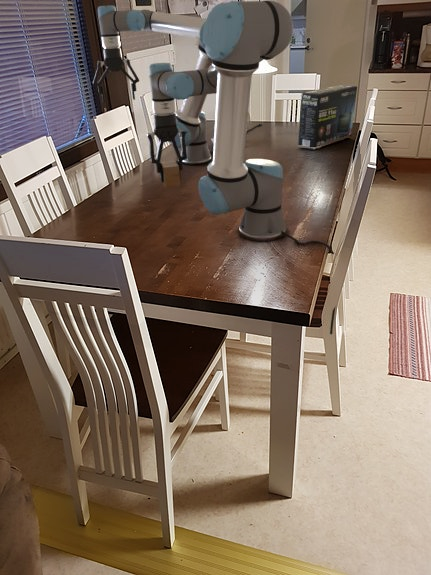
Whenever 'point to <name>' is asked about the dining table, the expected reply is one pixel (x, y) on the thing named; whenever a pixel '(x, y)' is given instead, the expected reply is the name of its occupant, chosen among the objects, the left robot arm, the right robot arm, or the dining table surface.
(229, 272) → the dining table surface
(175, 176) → the brick
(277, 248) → the dining table surface
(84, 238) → the dining table surface
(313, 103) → the router box
